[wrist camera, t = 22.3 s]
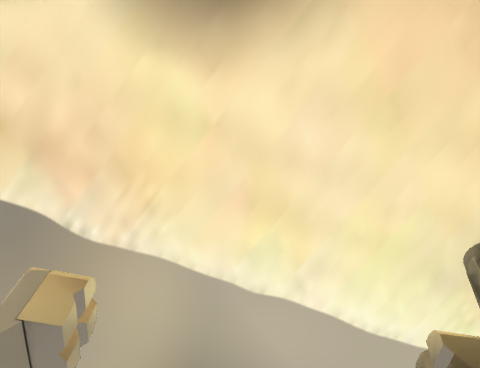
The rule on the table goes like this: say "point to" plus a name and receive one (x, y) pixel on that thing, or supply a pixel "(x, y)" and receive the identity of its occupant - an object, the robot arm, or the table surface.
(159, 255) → the table surface
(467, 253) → the beverage cup
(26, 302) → the robot arm
